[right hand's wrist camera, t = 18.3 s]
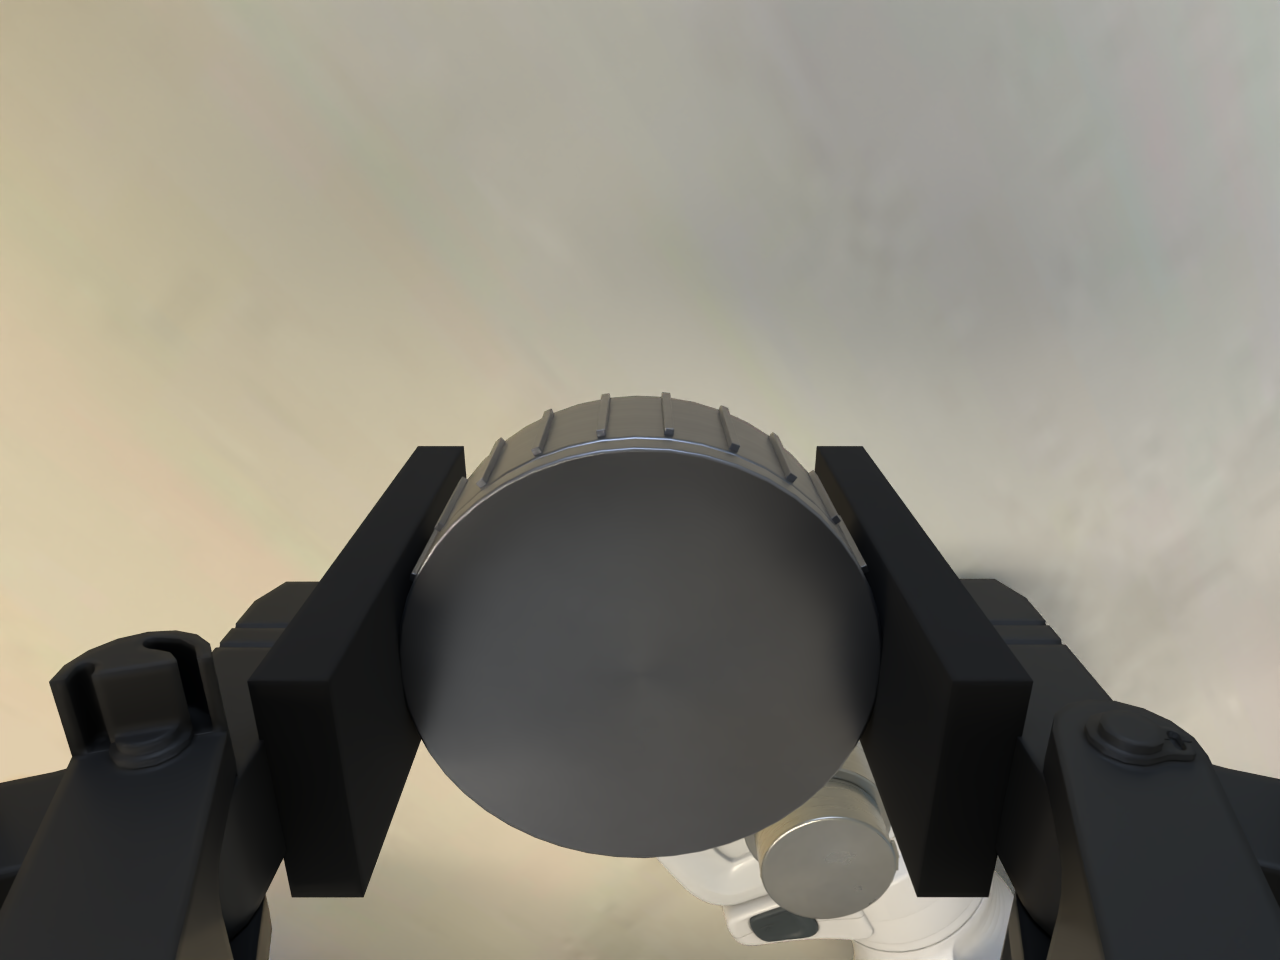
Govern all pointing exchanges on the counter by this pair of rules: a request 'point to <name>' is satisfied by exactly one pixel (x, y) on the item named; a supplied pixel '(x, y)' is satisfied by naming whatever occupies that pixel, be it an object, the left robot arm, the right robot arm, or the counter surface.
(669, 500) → the lid
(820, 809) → the bottle
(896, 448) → the counter surface
